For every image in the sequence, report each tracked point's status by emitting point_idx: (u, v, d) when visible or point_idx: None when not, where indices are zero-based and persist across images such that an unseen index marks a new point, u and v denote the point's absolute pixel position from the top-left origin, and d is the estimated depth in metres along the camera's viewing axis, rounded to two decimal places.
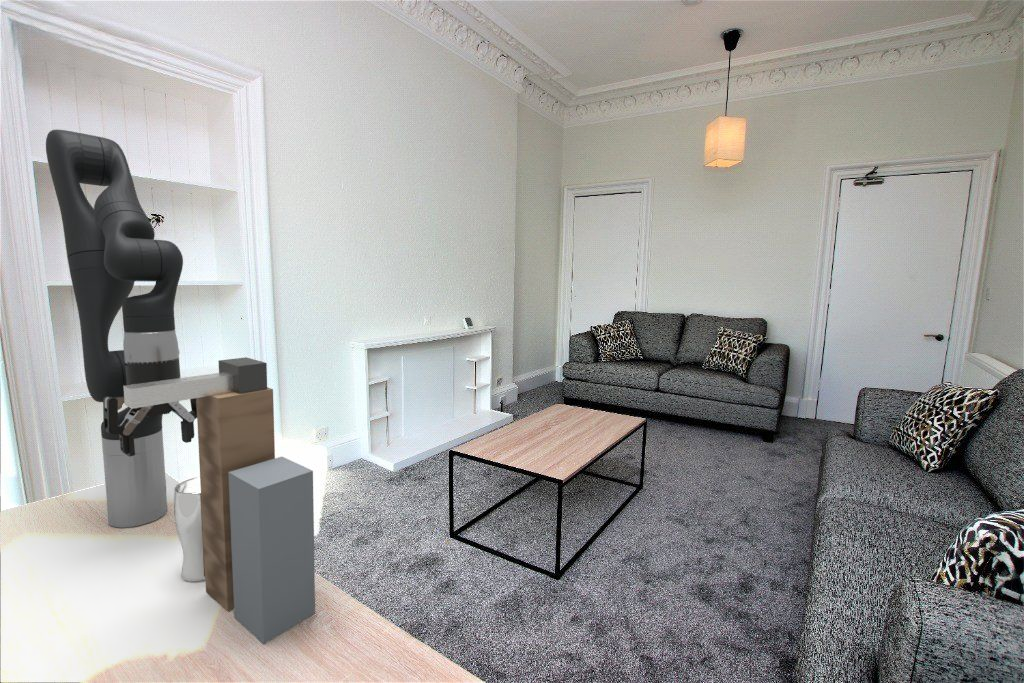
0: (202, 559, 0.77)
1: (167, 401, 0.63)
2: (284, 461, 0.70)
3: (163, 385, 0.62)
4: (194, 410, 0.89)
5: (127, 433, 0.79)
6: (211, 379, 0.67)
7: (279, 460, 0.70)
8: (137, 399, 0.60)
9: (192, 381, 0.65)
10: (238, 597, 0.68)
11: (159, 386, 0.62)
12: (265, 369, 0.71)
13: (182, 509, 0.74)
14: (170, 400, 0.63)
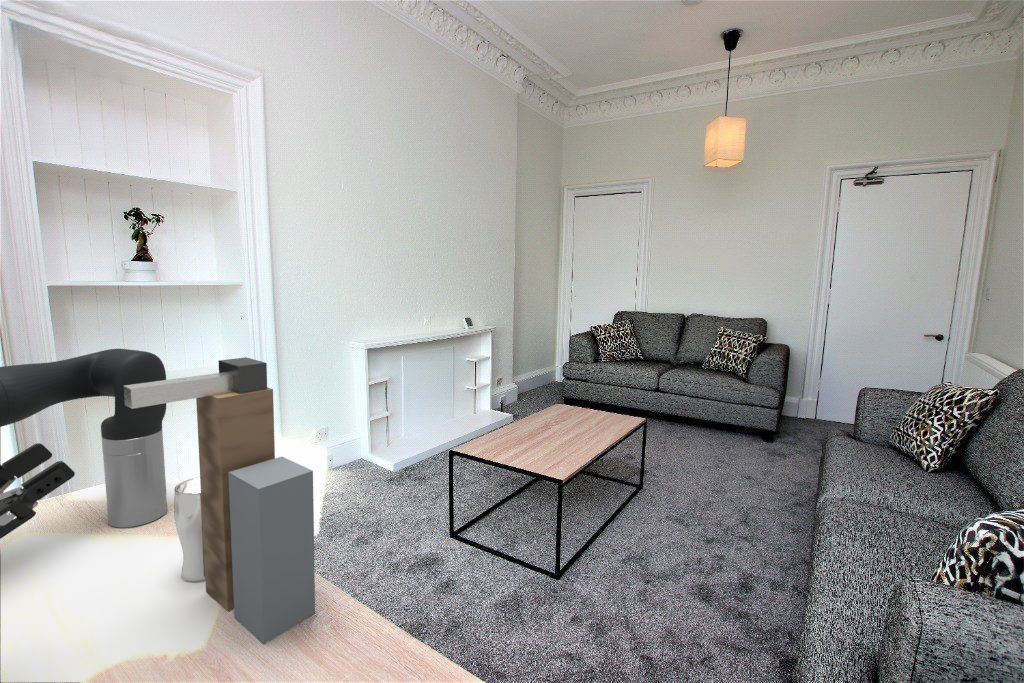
0: (202, 559, 0.77)
1: (167, 401, 0.63)
2: (284, 461, 0.70)
3: (163, 385, 0.62)
4: None
5: (16, 489, 0.49)
6: (211, 379, 0.67)
7: (279, 460, 0.70)
8: (137, 399, 0.60)
9: (192, 381, 0.65)
10: (238, 597, 0.68)
11: (159, 386, 0.62)
12: (265, 369, 0.71)
13: (182, 509, 0.74)
14: (170, 400, 0.63)
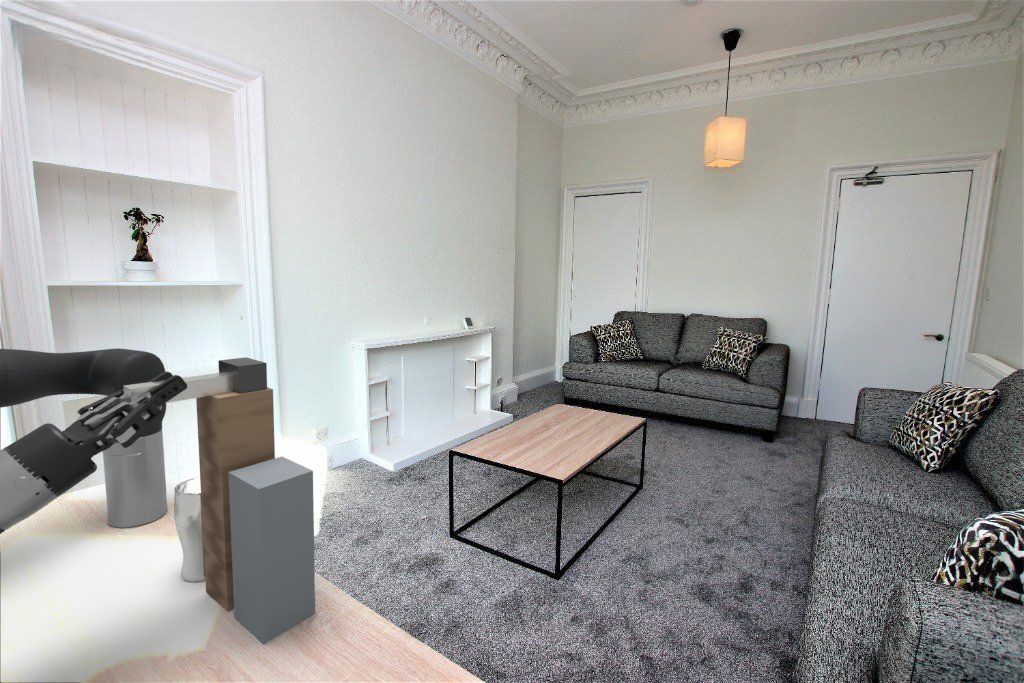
0: (202, 559, 0.77)
1: (167, 401, 0.63)
2: (284, 461, 0.70)
3: None
4: None
5: (146, 394, 0.60)
6: (211, 379, 0.67)
7: (279, 460, 0.70)
8: None
9: (192, 381, 0.65)
10: (238, 597, 0.68)
11: None
12: (265, 369, 0.71)
13: (182, 509, 0.74)
14: (170, 400, 0.63)
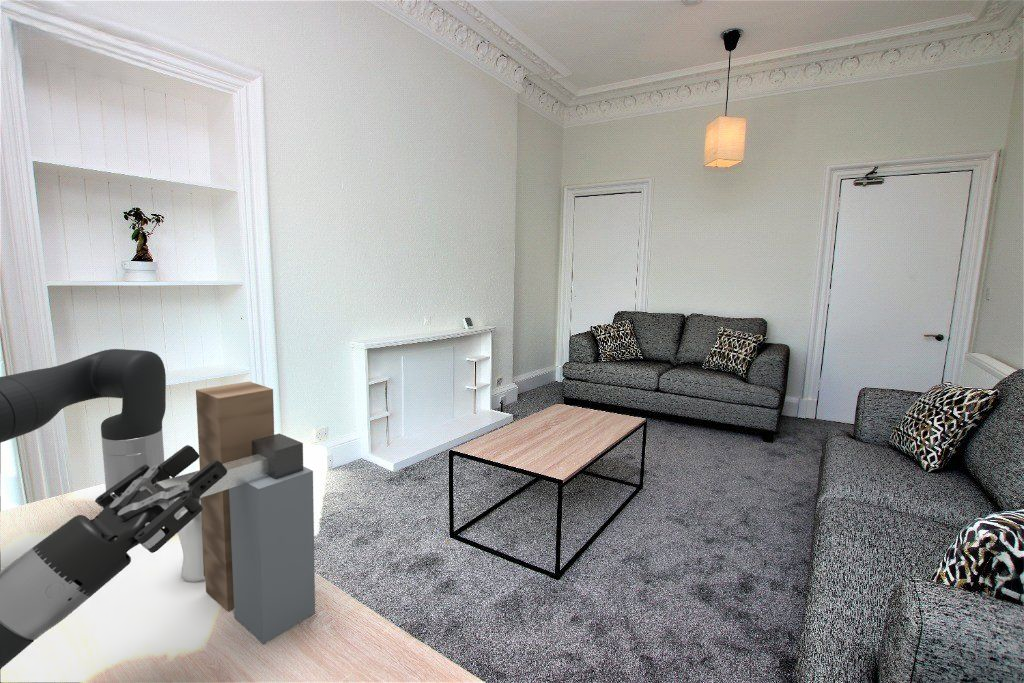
0: (202, 559, 0.77)
1: (202, 495, 0.59)
2: None
3: None
4: None
5: (184, 486, 0.54)
6: (246, 466, 0.63)
7: None
8: None
9: (227, 471, 0.61)
10: (238, 597, 0.68)
11: None
12: (301, 450, 0.67)
13: None
14: (205, 494, 0.59)
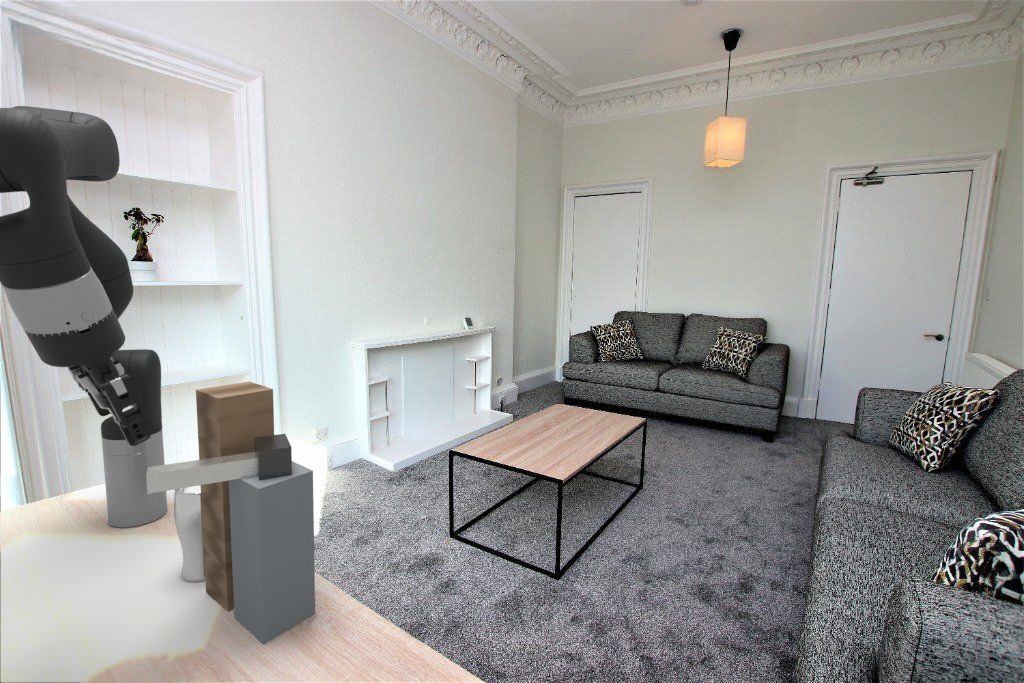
0: (202, 559, 0.77)
1: (184, 486, 0.61)
2: None
3: (180, 470, 0.60)
4: None
5: None
6: (233, 463, 0.63)
7: None
8: (153, 484, 0.59)
9: (212, 465, 0.62)
10: (238, 597, 0.68)
11: (176, 471, 0.60)
12: (290, 454, 0.65)
13: (182, 509, 0.74)
14: (188, 485, 0.61)
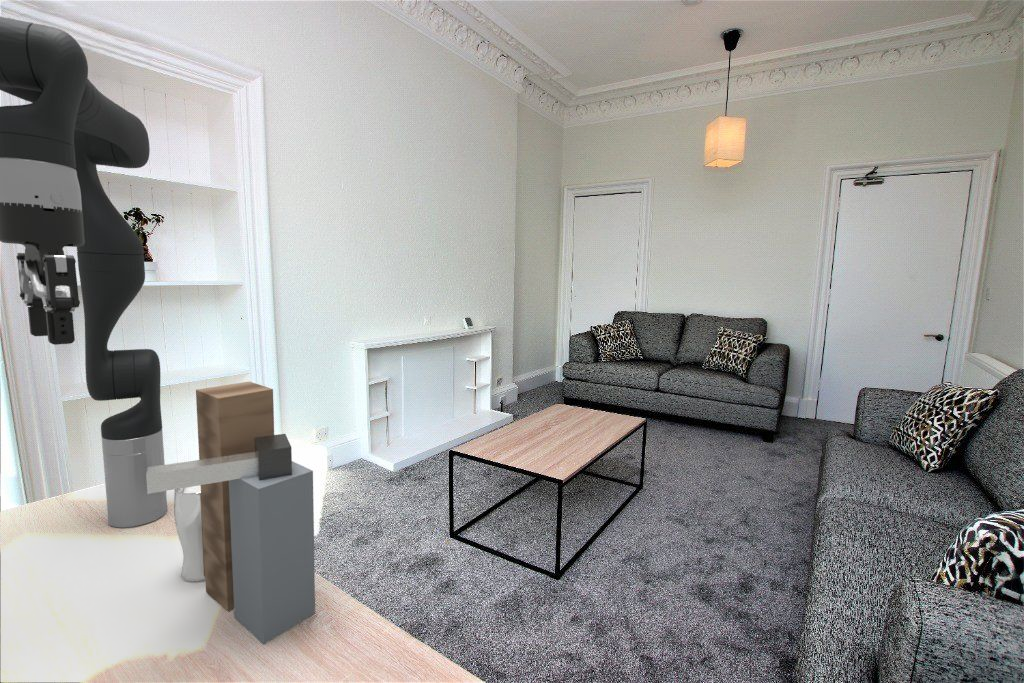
0: (202, 559, 0.77)
1: (184, 486, 0.61)
2: None
3: (180, 470, 0.60)
4: None
5: None
6: (233, 463, 0.63)
7: None
8: (153, 484, 0.59)
9: (212, 465, 0.62)
10: (238, 597, 0.68)
11: (176, 471, 0.60)
12: (290, 454, 0.65)
13: (182, 509, 0.74)
14: (188, 485, 0.61)
